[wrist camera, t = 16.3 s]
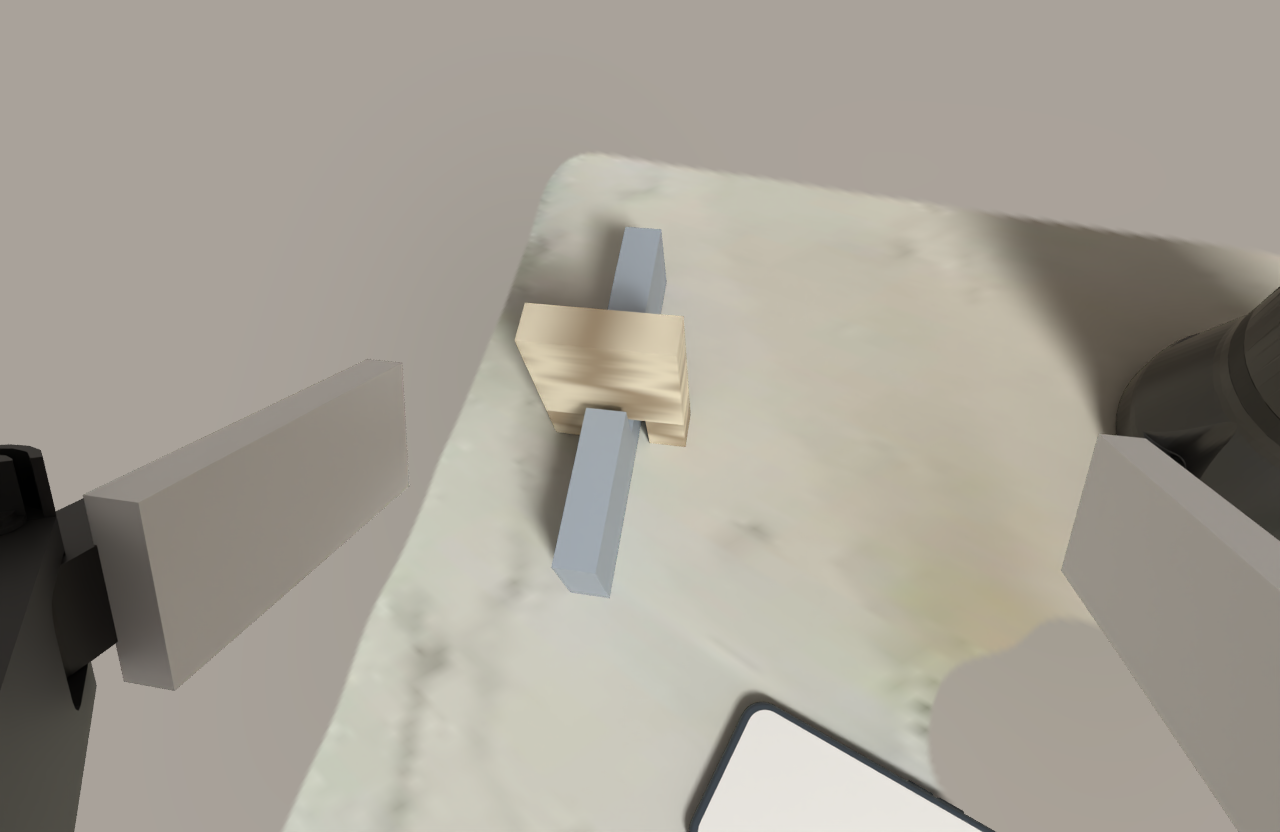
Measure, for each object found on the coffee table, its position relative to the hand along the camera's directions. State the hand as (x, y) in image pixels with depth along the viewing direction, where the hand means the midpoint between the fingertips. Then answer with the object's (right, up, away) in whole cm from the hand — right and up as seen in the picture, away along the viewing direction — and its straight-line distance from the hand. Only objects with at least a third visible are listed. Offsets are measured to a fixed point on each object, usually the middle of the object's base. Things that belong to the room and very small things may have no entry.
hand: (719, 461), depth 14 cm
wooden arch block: (-3, 0, +37) cm, 37 cm away
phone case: (+10, -22, +25) cm, 35 cm away
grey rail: (-3, 0, +37) cm, 37 cm away
